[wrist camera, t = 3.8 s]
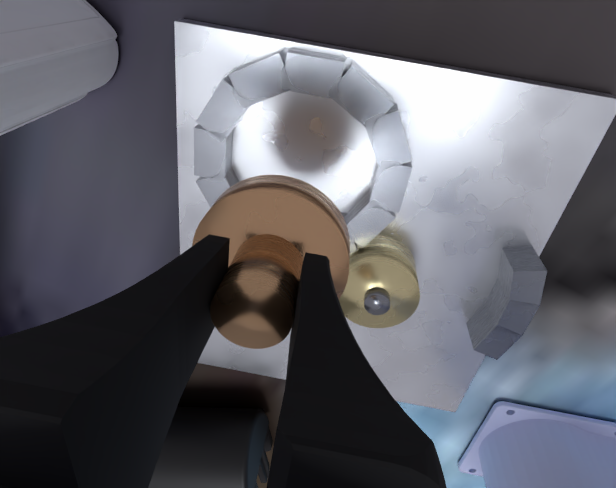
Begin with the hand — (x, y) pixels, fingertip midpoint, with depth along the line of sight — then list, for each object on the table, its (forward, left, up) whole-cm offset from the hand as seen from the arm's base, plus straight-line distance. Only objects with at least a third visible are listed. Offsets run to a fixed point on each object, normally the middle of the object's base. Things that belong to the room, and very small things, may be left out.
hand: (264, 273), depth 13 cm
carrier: (-3, +5, -10) cm, 11 cm away
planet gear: (0, 0, -2) cm, 2 cm away
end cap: (+4, +22, -10) cm, 25 cm away
